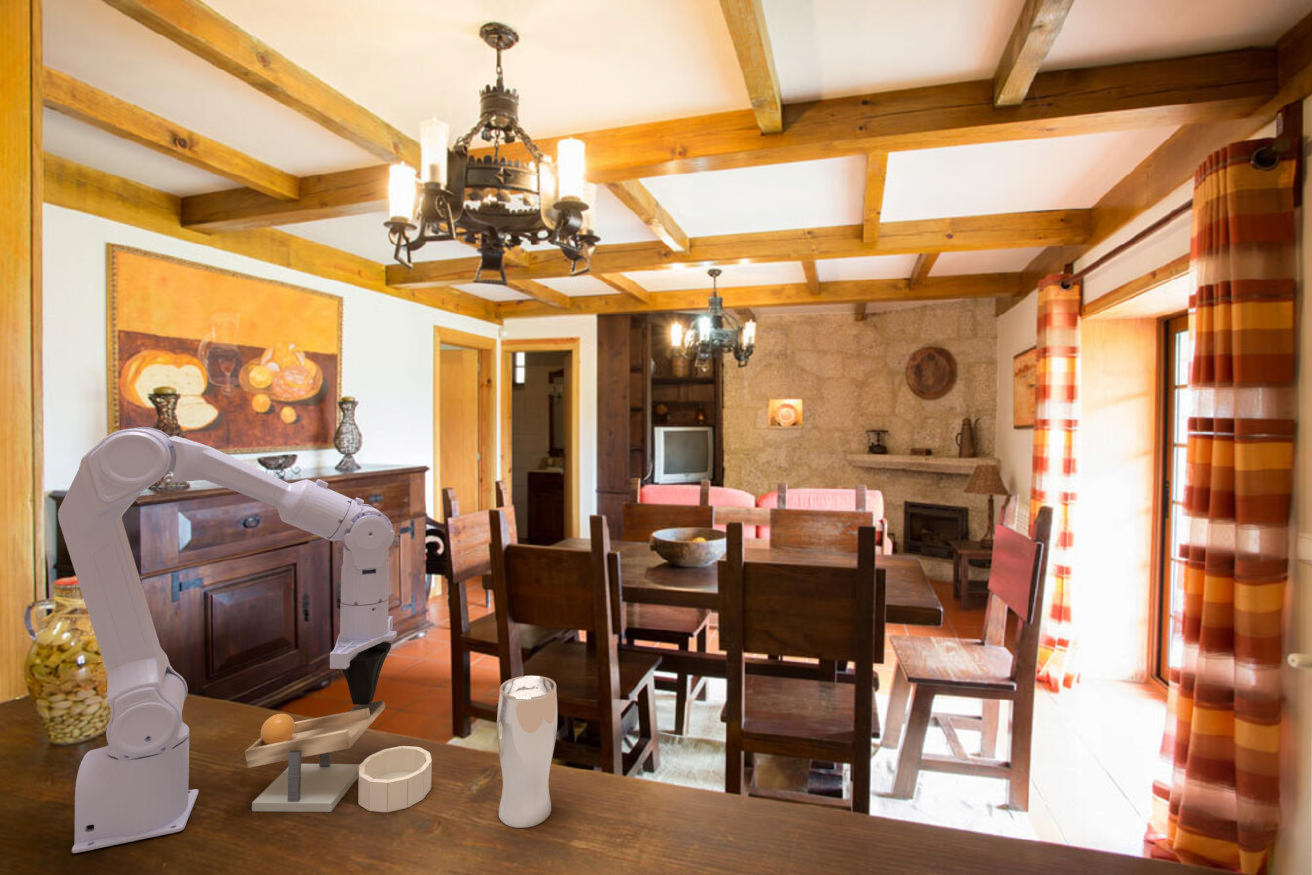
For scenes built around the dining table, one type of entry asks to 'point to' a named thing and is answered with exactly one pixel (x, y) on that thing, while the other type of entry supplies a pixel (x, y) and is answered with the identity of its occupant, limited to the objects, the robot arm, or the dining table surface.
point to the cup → (394, 778)
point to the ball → (277, 729)
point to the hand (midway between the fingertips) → (362, 702)
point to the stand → (307, 786)
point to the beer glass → (526, 748)
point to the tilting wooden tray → (317, 735)
